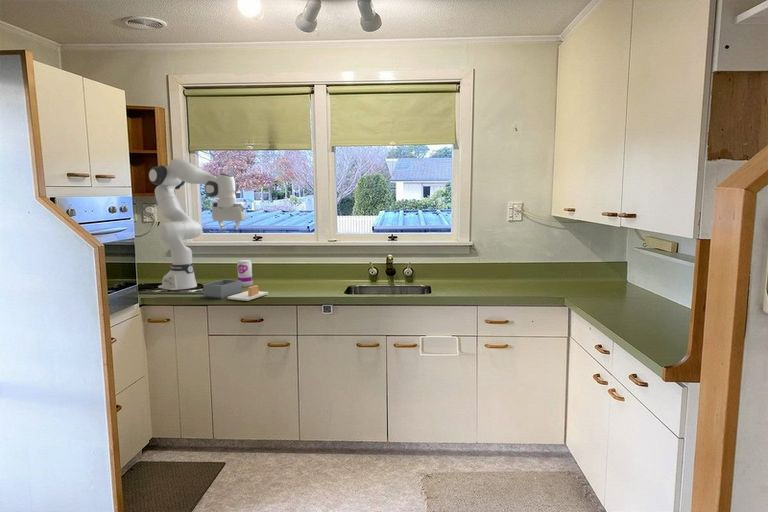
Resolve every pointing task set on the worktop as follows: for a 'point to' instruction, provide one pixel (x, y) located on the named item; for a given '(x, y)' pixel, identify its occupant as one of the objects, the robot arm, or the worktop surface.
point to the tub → (222, 288)
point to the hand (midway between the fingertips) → (229, 229)
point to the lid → (248, 294)
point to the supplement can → (245, 272)
